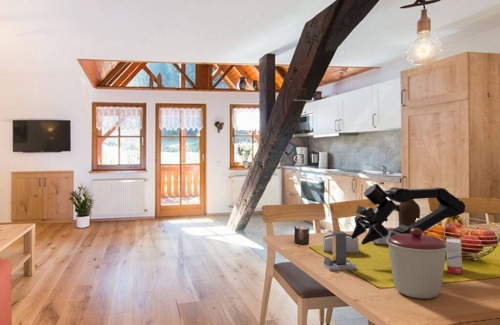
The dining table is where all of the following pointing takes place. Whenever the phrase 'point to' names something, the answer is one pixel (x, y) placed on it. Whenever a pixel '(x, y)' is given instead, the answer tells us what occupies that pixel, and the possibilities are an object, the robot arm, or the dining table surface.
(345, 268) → the grey rectangular piece
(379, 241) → the tin
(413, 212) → the olive oil
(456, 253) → the ink box
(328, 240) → the white slotted device
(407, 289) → the canister
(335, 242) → the block
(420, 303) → the dining table surface
